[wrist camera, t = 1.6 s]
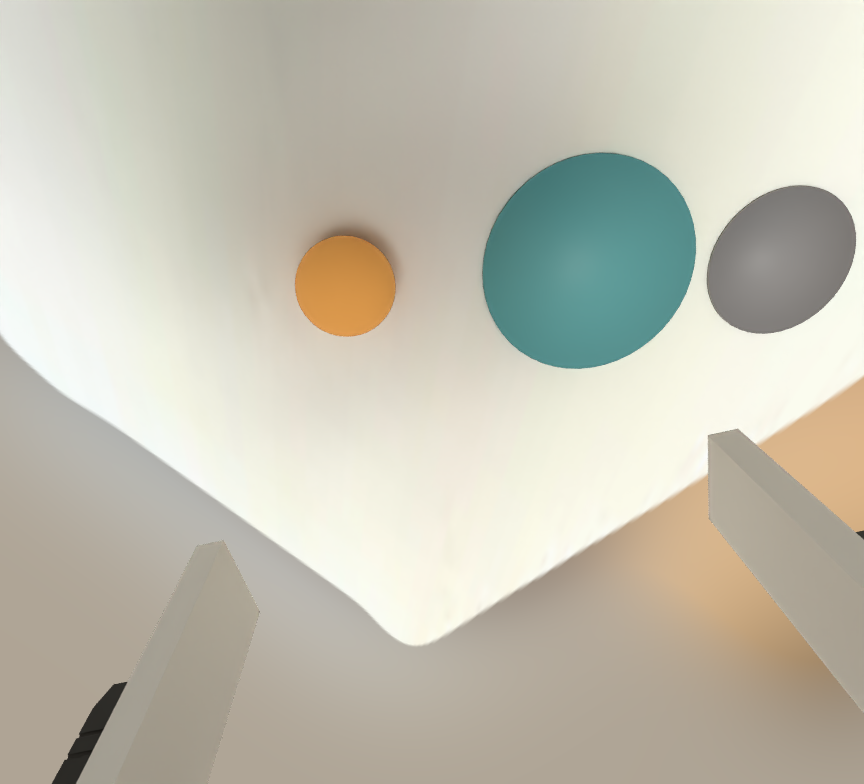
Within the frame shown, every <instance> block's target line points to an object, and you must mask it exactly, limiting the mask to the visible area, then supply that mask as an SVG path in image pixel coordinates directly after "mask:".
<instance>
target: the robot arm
mask: <svg viewBox="0 0 864 784" xmlns="http://www.w3.org/2000/svg"><path fill="white" fill-rule="evenodd" d="M708 482H709V483H708V484H709V485H708V486H709V519H710V521H711V522H712V523H713V524H714V526H715V527H716V528H717V529H718V531H719V532H720V533H721V534H722V536H723V537H724V538H725V539H726V541H727V542H728V543H729V544H730V546H731V547H732V548H733V550H734V551H735V552H736V553H737V555H738V556H739V557H740V558H741V559H742V561H743V562H744V563H745V565H746V566H747V567H748V568H749V570H750V571H751V572H752V574H753V575H754V576H755V577H756V579H757V580H758V581H759V582H760V584H761V585H762V586H763V587H764V589H765V590H766V591H767V592H768V594H769V595H770V596H771V597H772V599H773V600H774V601H775V602H776V604H777V605H778V606H779V607H780V609H781V610H782V611H783V613H784V614H785V615H786V616H787V617H788V619H789V620H790V621H791V623H792V624H793V625H794V626H795V628H796V629H797V630H798V631H799V633H800V634H801V635H802V636H803V638H804V639H805V640H806V642H807V643H808V644H809V645H810V646H811V648H812V649H813V650H814V652H815V653H816V654H817V655H818V657H819V658H820V659H821V660H822V662H823V663H824V664H825V665H826V667H827V668H828V669H829V670H830V672H831V673H832V674H833V676H834V677H835V678H836V679H837V681H838V682H839V683H840V684H841V686H842V687H843V688H844V689H845V691H846V692H847V693H848V694H849V696H850V697H851V698H852V699H853V701H854V702H855V703H856V704H857V706H858V707H859V708H860V710H861V711H862V712H863V713H864V531H860V532H854V531H853V530H852V529H851V528H850V527H849V526H847V524H845V523H844V522H843V521H842V520H841V519H840V518H839V517H837V516H836V515H835V514H834V513H833V512H832V511H831V510H829V509H828V508H827V507H826V506H825V505H824V504H822V502H820V501H819V500H818V499H817V498H816V497H815V496H814V495H812V494H811V493H810V492H809V491H808V490H807V489H806V488H805V487H803V486H802V485H801V484H800V483H799V482H798V481H797V480H795V479H794V478H793V477H792V476H791V475H790V474H789V473H787V472H786V471H785V470H784V469H783V468H782V467H781V466H780V465H778V464H777V463H776V462H775V461H774V460H773V459H772V458H770V457H769V456H768V455H767V454H766V453H765V452H764V451H762V450H761V449H760V448H759V447H758V446H757V445H756V444H755V443H753V442H752V441H751V440H750V439H749V438H748V437H747V436H745V435H744V434H743V433H742V432H741V431H740V430H739V429H735V430H730V431H725V432H721V433H716V434H711V435H708ZM259 613H260V611H259V609H258V607H257V605H256V603H255V601H254V599H253V597H252V595H251V593H250V591H249V589H248V587H247V585H246V583H245V581H244V579H243V577H242V575H241V573H240V571H239V570H238V568H237V566H236V564H235V562H234V560H233V558H232V556H231V554H230V552H229V550H228V548H227V546H226V544H225V542H224V540H222V541H217V542H212V543H208V544H203V545H199V546H197V547H196V549H195V550H194V552H193V555H192V557H191V558H190V560H189V563H188V564H187V566H186V568H185V570H184V572H183V574H182V576H181V578H180V580H179V582H178V584H177V586H176V588H175V590H174V592H173V594H172V596H171V598H170V600H169V602H168V604H167V606H166V608H165V610H164V611H163V613H162V616H161V617H160V620H159V621H158V623H157V625H156V627H155V629H154V631H153V633H152V635H151V637H150V639H149V641H148V643H147V645H146V647H145V649H144V651H143V653H142V655H141V657H140V659H139V661H138V663H137V665H136V667H135V669H134V671H133V673H132V675H131V677H130V679H129V680H128V682H124V683H119V684H114V685H113V686H112V687H111V688H110V689H109V690H108V692H107V693H106V694H105V695H104V696H103V697H102V699H101V700H100V701H99V702H98V703H97V704H96V705H95V706H94V708H93V709H92V711H91V713H90V715H89V716H88V718H87V720H86V722H85V724H84V726H83V727H82V729H81V731H80V733H79V735H80V737H79V738H77V739H76V740H75V742H74V744H73V746H72V748H71V749H70V752H69V753H68V759H67V760H64V762H63V764H62V766H61V768H60V770H59V771H58V773H57V775H56V777H55V779H54V781H53V783H52V784H208V781H209V777H210V774H211V770H212V767H213V764H214V761H215V758H216V754H217V751H218V748H219V744H220V741H221V738H222V735H223V731H224V728H225V725H226V722H227V718H228V715H229V712H230V708H231V705H232V702H233V699H234V695H235V692H236V688H237V685H238V682H239V679H240V675H241V672H242V669H243V666H244V663H245V659H246V656H247V653H248V649H249V646H250V643H251V639H252V636H253V633H254V629H255V626H256V623H257V620H258V617H259Z"/></svg>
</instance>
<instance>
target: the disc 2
mask: <svg viewBox="0 0 864 784" xmlns="http://www.w3.org/2000/svg"><path fill="white" fill-rule="evenodd" d="M855 247H856V232H855V226H854V222H853V219H852V216H851V214H850V212H849V211H848V209H847V207H846V206H845V205H844V204H843V202H842V201H841V200H839V199H838V198H837V197H836V196H835V195H833V194H831V193H830V192H828V191H825V190H823V189H820V188H815V187H810V186H792V187H786V188H781V189H778V190H775V191H772V192H769V193H767V194H765V195H763V196H761V197H759V198H757V199H756V200H754V201H753V202H751V203H750V204H748V205H747V206H746V207H745V208H743V209H742V210H741V211H740V212H739V213H738V214H737V215H736V216H735V217H734V218H733V219H732V220H731V221H730V223H729V224H728V225H727V226H726V228H725V229H724V231H723V232H722V234H721V235H720V237H719V239H718V241H717V242H716V244H715V246H714V249H713V252H712V254H711V258H710V261H709V265H708V273H707V286H708V292H709V296H710V299H711V302H712V304H713V306H714V308H715V310H716V311H717V312H718V314H719V315H720V316H721V317H722V318H723V319H724V320H725V321H726V322H728V323H729V324H730V325H732V326H734V327H736V328H738V329H740V330H743V331H746V332H751V333H762V334H765V333H774V332H779V331H783V330H786V329H789V328H792V327H794V326H796V325H798V324H801V323H802V322H804V321H806V320H807V319H809V318H811V317H812V316H813V315H815V314H816V313H817V312H819V311H820V310H821V309H822V308H823V307H824V306H825V305H826V304H827V303H828V302H829V301H830V300H831V299H832V298H833V297H834V295H835V294H836V293H837V292H838V290H839V289H840V287H841V286H842V284H843V282H844V281H845V279H846V277H847V275H848V273H849V270H850V268H851V265H852V262H853V258H854V254H855Z"/></svg>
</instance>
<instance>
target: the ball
mask: <svg viewBox="0 0 864 784" xmlns="http://www.w3.org/2000/svg"><path fill="white" fill-rule="evenodd" d="M295 291H296V296H297V300H298V303H299V305H300V308H301V310H302V311H303V313H304V314H305V316H306V317H307V318H308V319H309V320H310V321H311V322H312V323H313V324H314V325H315V326H317V327H318V328H319V329H321V330H323V331H325V332H327V333H329V334H333V335H337V336H348V337H349V336H357V335H361V334H364V333H367V332H368V331H370V330H372V329H374V328H375V327H376V326H378V325H379V324H380V323H381V322H382V321H383V320H384V319H385V317H386V316H387V315H388V313H389V311H390V309H391V307H392V304H393V301H394V297H395V278H394V274H393V271H392V268H391V265H390V264H389V262H388V260H387V259H386V257H385V256H384V254H383V253H382V252H381V251H380V250H379V249H378V248H376V247H375V246H374V245H372V244H371V243H369V242H367V241H365V240H363V239H360V238H357V237H353V236H334V237H330V238H327V239H325V240H322V241H321V242H319V243H317V244H316V245H314V246H313V247H312V248H311V249H310V250H309V251H308V252H307V253H306V254H305V255H304V257H303V258H302V260H301V262H300V264H299V267H298V269H297V273H296V278H295Z"/></svg>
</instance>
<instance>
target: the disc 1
mask: <svg viewBox="0 0 864 784" xmlns="http://www.w3.org/2000/svg"><path fill="white" fill-rule="evenodd" d="M695 255H696V237H695V230H694V224H693V221H692V217H691V214H690V211H689V209H688V207H687V204H686V202H685V200H684V198H683V197H682V195H681V194H680V192H679V191H678V189H677V188H676V186H675V185H674V184H673V183H672V182H671V181H670V180H669V179H668V178H667V177H666V176H665V175H664V174H662V173H661V172H660V171H659V170H657V169H656V168H654V167H653V166H651V165H649V164H647V163H645V162H644V161H641V160H638V159H635V158H633V157H630V156H625V155H620V154H612V153H594V154H584V155H580V156H576V157H571V158H568V159H566V160H563V161H561V162H558V163H555V164H554V165H552V166H550V167H548V168H546V169H544V170H542V171H541V172H539V173H538V174H537V175H535V176H534V177H533V178H531V179H530V180H528V181H527V182H526V183H525V184H524V185H523V186H522V187H521V188H520V189H519V190H518V191H517V192H516V193H515V194H514V195H513V196H512V198H511V199H510V200H509V201H508V202H507V204H506V205H505V207H504V208H503V210H502V211H501V213H500V214H499V216H498V218H497V220H496V222H495V224H494V226H493V228H492V230H491V233H490V236H489V239H488V242H487V245H486V250H485V255H484V261H483V287H484V293H485V299H486V302H487V305H488V308H489V311H490V313H491V315H492V317H493V319H494V321H495V324H496V325H497V327H498V328H499V330H500V331H501V333H502V334H503V335H504V336H505V337H506V339H507V340H508V341H509V342H510V343H511V344H512V345H513V346H515V347H516V348H517V349H518V350H519V351H521V352H522V353H524V354H525V355H527V356H529V357H530V358H532V359H535V360H537V361H539V362H541V363H544V364H548V365H551V366H555V367H561V368H575V369H580V368H591V367H596V366H601V365H605V364H608V363H611V362H614V361H617V360H619V359H621V358H623V357H625V356H628V355H630V354H631V353H633V352H635V351H636V350H638V349H639V348H641V347H642V346H644V345H645V344H646V343H648V342H649V341H650V340H651V339H653V338H654V337H655V336H656V335H657V334H658V333H659V332H660V331H661V330H662V329H663V328H664V327H665V325H666V324H667V323H668V322H669V321H670V319H671V318H672V317H673V315H674V314H675V312H676V311H677V309H678V308H679V306H680V304H681V302H682V300H683V298H684V296H685V294H686V292H687V289H688V286H689V284H690V281H691V277H692V273H693V269H694V264H695Z"/></svg>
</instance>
